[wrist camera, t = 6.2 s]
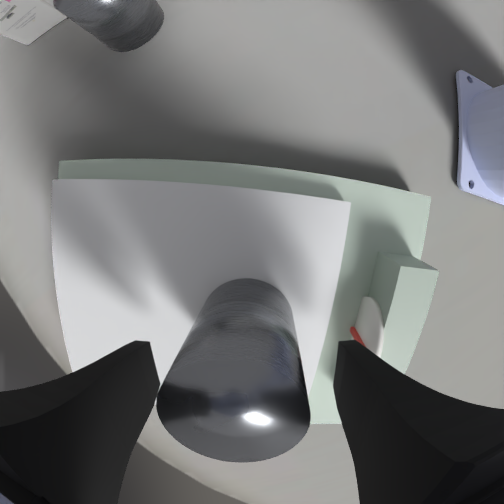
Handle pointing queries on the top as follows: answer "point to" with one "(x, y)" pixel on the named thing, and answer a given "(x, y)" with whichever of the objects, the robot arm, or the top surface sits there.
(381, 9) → the top surface
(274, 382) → the cylinder
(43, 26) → the ink cartridge box
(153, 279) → the scale
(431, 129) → the top surface
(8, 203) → the top surface
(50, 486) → the robot arm
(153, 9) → the cylinder
